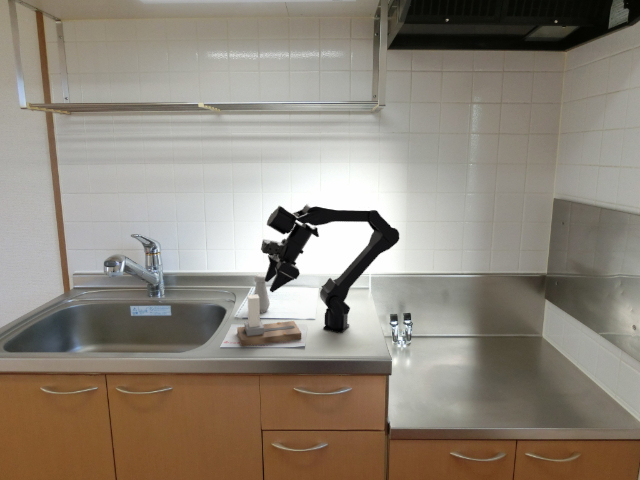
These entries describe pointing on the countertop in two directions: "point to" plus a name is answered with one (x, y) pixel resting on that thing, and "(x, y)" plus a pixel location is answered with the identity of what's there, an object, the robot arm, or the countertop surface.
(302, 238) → the robot arm
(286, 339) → the brown slider track board
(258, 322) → the fader tab
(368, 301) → the countertop surface
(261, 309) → the salt shaker
